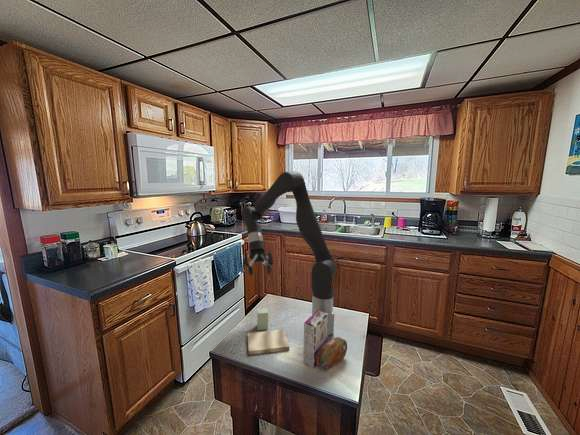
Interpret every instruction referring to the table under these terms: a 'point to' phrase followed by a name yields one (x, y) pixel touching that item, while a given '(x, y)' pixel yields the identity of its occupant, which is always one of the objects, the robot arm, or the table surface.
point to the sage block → (262, 319)
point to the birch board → (267, 342)
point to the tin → (331, 353)
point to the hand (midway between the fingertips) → (260, 274)
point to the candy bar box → (315, 336)
